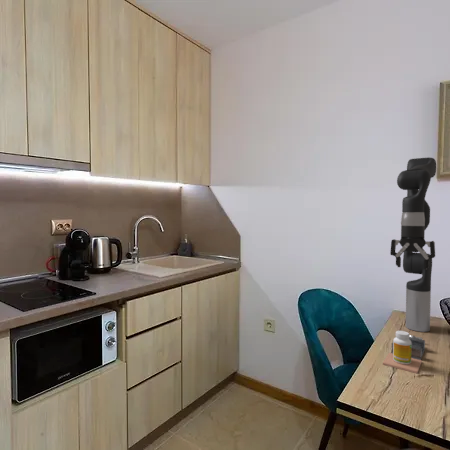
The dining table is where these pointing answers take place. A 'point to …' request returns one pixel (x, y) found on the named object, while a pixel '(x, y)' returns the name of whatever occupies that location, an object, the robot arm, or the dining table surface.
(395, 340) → the supplement bottle
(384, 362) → the terracotta tile
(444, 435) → the dining table surface
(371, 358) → the dining table surface
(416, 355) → the bench vise
